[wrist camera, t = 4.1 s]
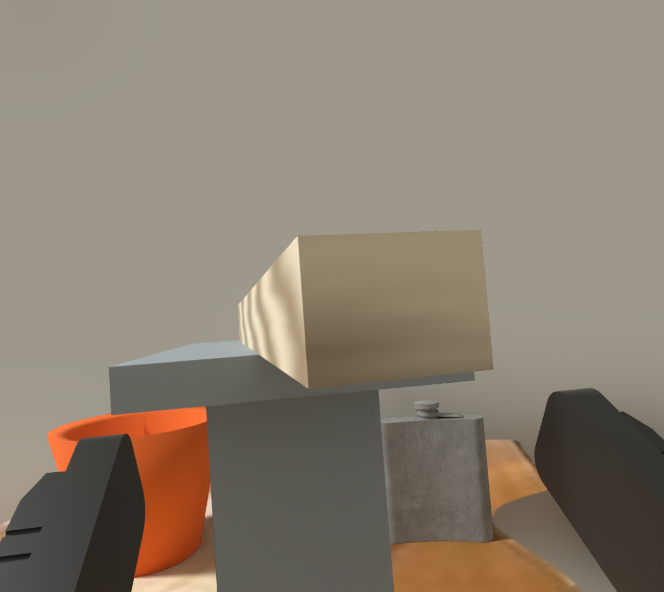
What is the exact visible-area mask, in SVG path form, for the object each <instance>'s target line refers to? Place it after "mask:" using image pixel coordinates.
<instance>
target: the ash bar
mask: <svg viewBox="0 0 664 592" xmlns="http://www.w3.org/2000/svg"><path fill="white" fill-rule="evenodd" d="M484 269H485V268H484V257H483V246H482V235H481V230H458V231H428V232H399V233H369V234H340V235H311V236H297V237H296V239H295V240H294V241H293V242H292V243H291V244H290V246H289V247H288V248H287V249H286V250H285V251H284V253H283V254H282V255H281V256H280V258H278V259H277V261H276V262H275V263H274V264H273V265H272V267H271V268H270V269H269V270H268V271H267V272H266V274H265V275H264V276H263V277H262V278H261V279H260V280H259V282H258V283H257V284H256V285H255V286H254V288H253V289H252V290H251V291H250V292H249V293H248V295H247V296H246V297H245V298H244V299H243V300H242V301H241V303H240V304H239V305H238V315H239V330H240V342H241V343H243V344H244V345H246V346H247V347H249V348H250V349H252V350H253V351H254V352H256V353H257V354H259V355H260V356H262V357H263V358H265V359H266V360H267V361H269V362H270V363H272V364H273V365H275V366H276V367H278V368H279V369H280V370H282V371H283V372H285V373H286V374H288V375H289V376H291V377H292V378H293V379H295V380H296V381H298V382H299V383H301V384H302V385H304V386H305V387H306V388H308V389H313V388H322V387H331V386H341V385H350V384H360V383H369V382H379V381H388V380H398V379H407V378H417V377H426V376H436V375H445V374H454V373H464V372H473V371H483V370H492V369H493V359H492V348H491V336H490V325H489V314H488V303H487V291H486V280H485V270H484Z"/></svg>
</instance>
